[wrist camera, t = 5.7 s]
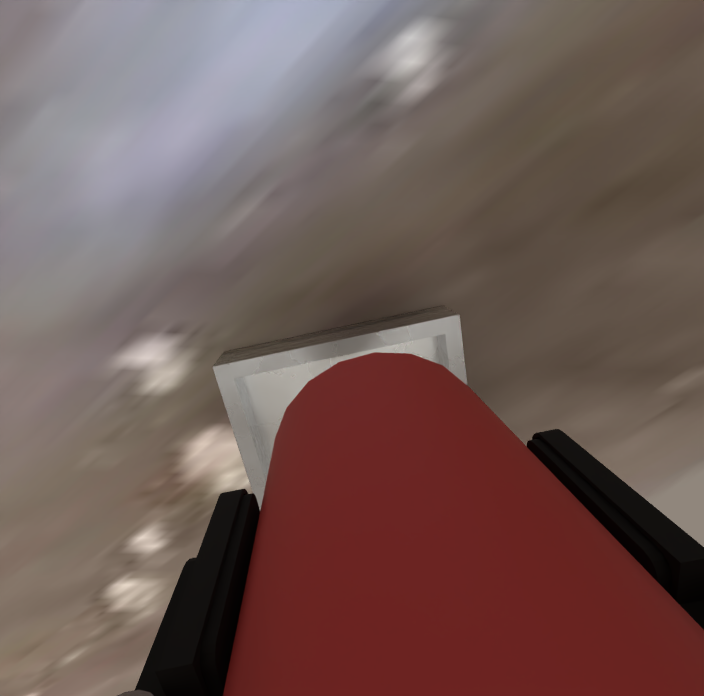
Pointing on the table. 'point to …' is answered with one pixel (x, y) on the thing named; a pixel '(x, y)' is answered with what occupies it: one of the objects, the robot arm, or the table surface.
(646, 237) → the table surface
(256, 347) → the rimmed tray
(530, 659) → the beer can
